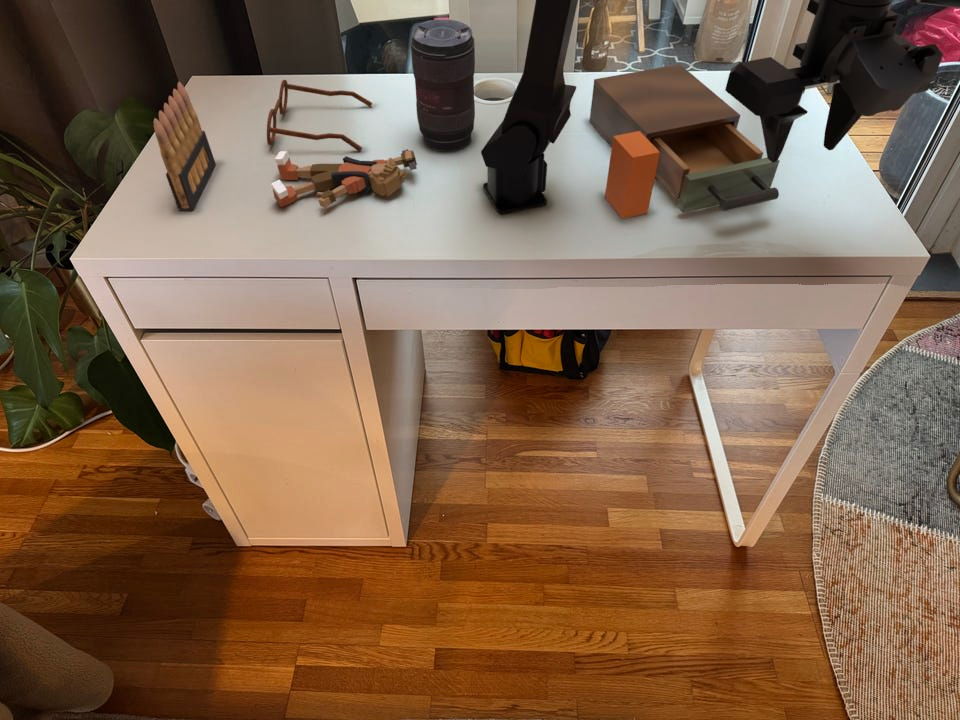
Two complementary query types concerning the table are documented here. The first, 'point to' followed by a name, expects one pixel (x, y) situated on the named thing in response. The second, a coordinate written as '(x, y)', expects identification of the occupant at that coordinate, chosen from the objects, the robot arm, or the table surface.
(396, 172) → the character figurine
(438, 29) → the camera lens
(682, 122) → the cabinet
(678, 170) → the drawer
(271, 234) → the table surface
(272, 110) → the glasses
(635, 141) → the orange rectangular block
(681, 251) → the table surface
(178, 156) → the ammunition clip
